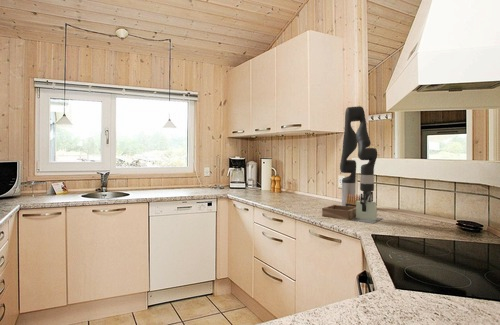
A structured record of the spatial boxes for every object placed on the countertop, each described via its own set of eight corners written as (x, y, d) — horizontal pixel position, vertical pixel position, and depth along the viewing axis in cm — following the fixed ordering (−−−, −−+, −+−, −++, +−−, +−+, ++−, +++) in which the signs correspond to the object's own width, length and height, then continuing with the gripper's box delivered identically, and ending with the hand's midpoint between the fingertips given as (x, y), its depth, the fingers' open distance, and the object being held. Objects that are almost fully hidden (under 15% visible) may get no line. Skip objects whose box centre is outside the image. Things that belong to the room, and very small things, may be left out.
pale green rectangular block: (357, 217, 193) (357, 200, 193) (376, 219, 186) (376, 202, 186) (355, 218, 191) (356, 201, 191) (375, 220, 184) (375, 203, 184)
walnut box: (333, 212, 210) (333, 204, 210) (358, 215, 200) (358, 207, 200) (322, 216, 198) (322, 208, 198) (348, 219, 187) (348, 211, 187)
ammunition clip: (361, 213, 208) (361, 194, 208) (359, 213, 207) (359, 194, 207) (347, 210, 217) (347, 192, 216) (345, 211, 216) (345, 192, 215)
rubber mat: (360, 216, 199) (360, 215, 199) (382, 218, 191) (382, 218, 191) (350, 220, 186) (350, 219, 186) (373, 223, 178) (373, 223, 178)
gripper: (364, 181, 196) (364, 208, 196) (356, 183, 185) (355, 211, 185) (377, 182, 191) (377, 209, 192) (369, 184, 180) (369, 213, 180)
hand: (366, 210), depth 188 cm, fingers open, 8 cm apart
